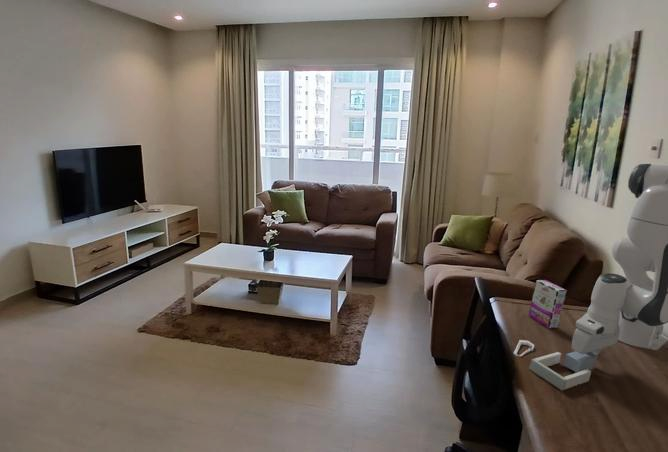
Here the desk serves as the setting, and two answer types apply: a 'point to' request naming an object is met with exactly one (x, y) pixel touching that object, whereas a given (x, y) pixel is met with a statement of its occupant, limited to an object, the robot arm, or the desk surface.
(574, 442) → the desk surface
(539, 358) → the bay
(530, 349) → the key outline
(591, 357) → the grey-blue box
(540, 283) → the candy bar box
